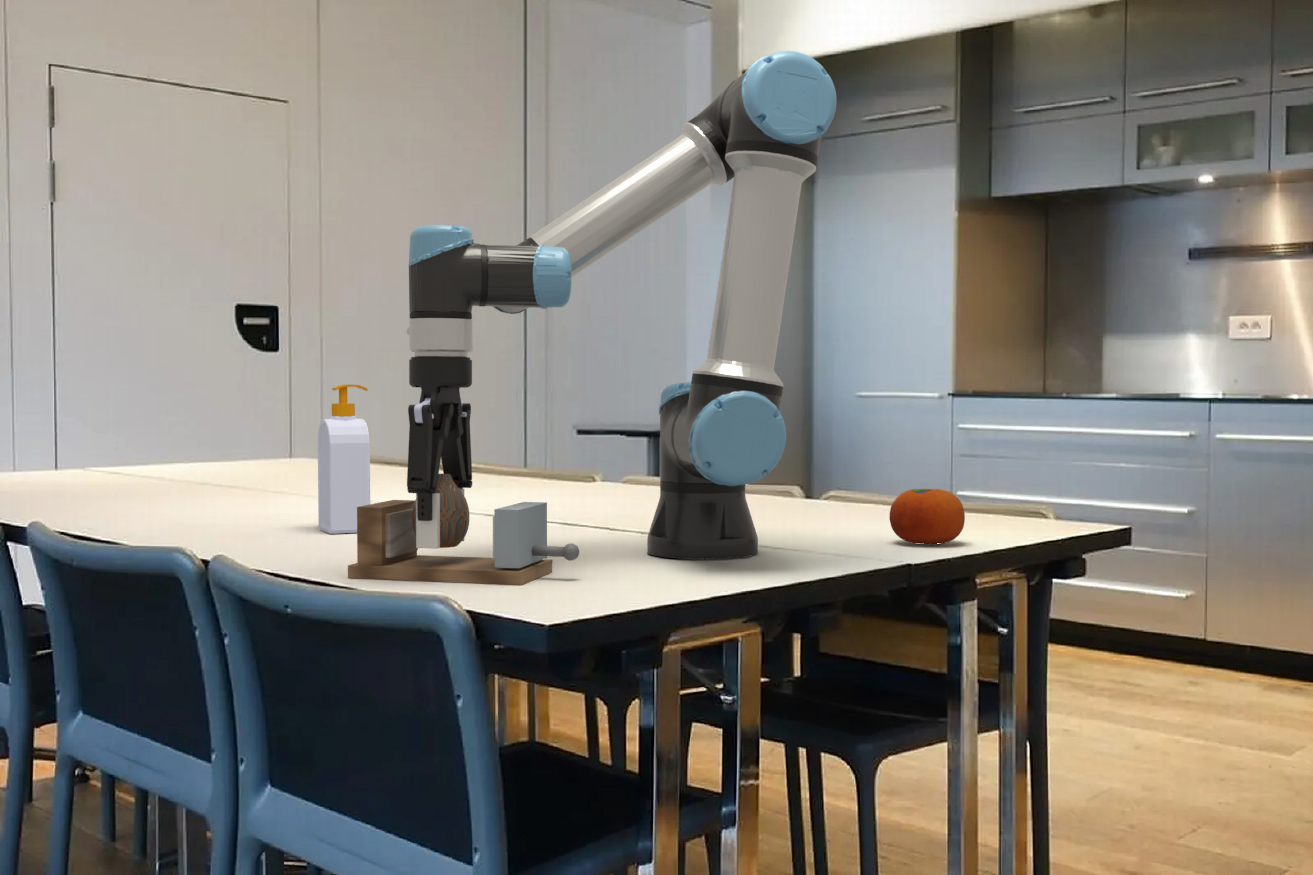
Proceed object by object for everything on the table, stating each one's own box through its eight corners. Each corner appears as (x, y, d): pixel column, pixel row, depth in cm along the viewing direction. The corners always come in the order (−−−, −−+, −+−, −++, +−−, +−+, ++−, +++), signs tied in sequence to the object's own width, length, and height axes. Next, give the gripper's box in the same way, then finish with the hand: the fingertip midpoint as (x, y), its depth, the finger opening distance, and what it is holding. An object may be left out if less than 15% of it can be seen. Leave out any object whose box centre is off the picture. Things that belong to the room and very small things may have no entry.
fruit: (940, 539, 205) (941, 485, 205) (977, 547, 195) (978, 491, 195) (876, 541, 202) (877, 487, 202) (911, 549, 192) (911, 493, 192)
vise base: (552, 572, 169) (552, 503, 169) (521, 585, 158) (521, 511, 158) (388, 565, 175) (387, 499, 174) (347, 577, 164) (347, 507, 164)
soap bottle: (375, 532, 212) (374, 384, 211) (330, 534, 209) (329, 384, 208) (361, 527, 220) (360, 384, 220) (318, 529, 217) (316, 384, 216)
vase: (414, 543, 170) (414, 472, 169) (470, 542, 170) (470, 472, 170) (409, 549, 163) (409, 476, 163) (468, 549, 164) (467, 476, 163)
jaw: (591, 559, 167) (591, 503, 167) (565, 570, 158) (565, 511, 157) (519, 556, 170) (519, 501, 169) (489, 567, 160) (489, 509, 160)
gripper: (444, 356, 176) (444, 534, 177) (375, 353, 157) (376, 553, 158) (499, 356, 174) (499, 536, 175) (436, 353, 155) (436, 555, 156)
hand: (440, 544), depth 167 cm, fingers closed on vase, 7 cm apart
